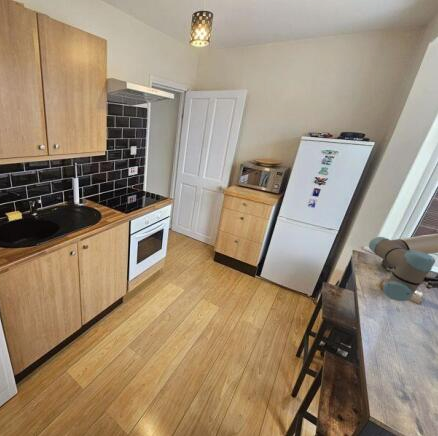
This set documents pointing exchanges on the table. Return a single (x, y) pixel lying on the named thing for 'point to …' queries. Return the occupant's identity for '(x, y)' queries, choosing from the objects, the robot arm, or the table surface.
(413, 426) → the table surface
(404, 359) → the table surface
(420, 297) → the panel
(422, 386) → the table surface
